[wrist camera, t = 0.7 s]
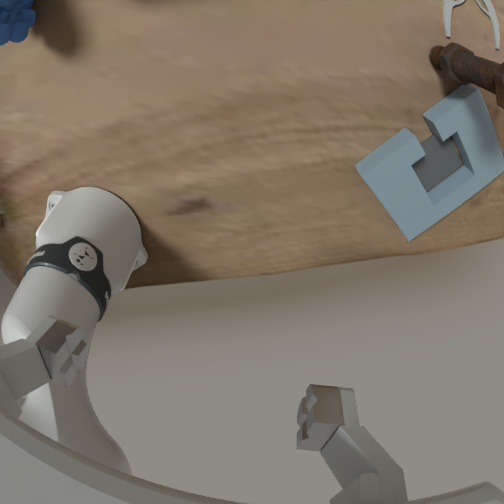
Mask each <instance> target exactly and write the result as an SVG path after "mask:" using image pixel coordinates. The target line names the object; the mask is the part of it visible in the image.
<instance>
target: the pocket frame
mask: <svg viewBox="0 0 504 504" xmlns="http://www.w3.org/2000/svg"><path fill="white" fill-rule="evenodd" d="M422 116H423V117H424V119H425V121H426V123H427V125H428V126H429V128H430V130H431V132H432V133H433V135H432V136H430V137H429V138H428V139H426V140H425V141H424V142H422V143H421V144H420V143H419V141H418V140H417V138H416V136H415V135H414V134H412V133H411V132H410V131H409V130H408V129H406V128H403V129H402V130H401V131H399V132H398V133H397V134H395V135H394V136H393V137H391V138H390V139H389V140H387V141H386V142H385V143H383V144H382V145H381V146H379V147H378V148H377V149H375V150H374V151H373V152H371V153H370V154H369V155H367V156H366V157H365V158H363V159H362V160H361V161H359V162H358V163H357V164H355V165H354V166H355V168H356V169H357V171H358V172H359V174H360V176H361V177H362V178H363V180H364V181H365V182H366V183H367V185H368V186H369V187H370V189H371V190H372V191H373V192H374V194H375V195H376V196H377V198H378V199H379V200H380V202H381V203H382V204H383V206H384V207H385V209H386V210H387V211H388V213H389V214H390V215H391V217H392V218H393V220H394V221H395V222H396V224H397V225H398V227H399V228H400V230H401V231H402V233H403V234H404V236H405V237H406V238H407V240H408V241H410V240H412V239H413V238H415V237H416V236H418V235H419V234H421V233H422V232H423V231H425V230H426V229H428V228H429V227H431V226H432V225H433V224H435V223H436V222H438V221H439V220H440V219H442V218H443V217H445V216H446V215H447V214H449V213H450V212H451V211H453V210H454V209H456V208H457V207H458V206H460V205H461V204H462V203H464V202H465V201H466V200H468V199H469V198H470V197H472V196H473V195H474V194H475V193H477V192H478V191H479V190H481V189H482V188H483V187H484V186H486V185H487V184H488V183H490V182H491V181H492V180H493V179H495V178H496V177H497V176H498V175H499V174H501V173H502V172H503V171H504V158H503V154H502V151H501V148H500V144H499V141H498V138H497V135H496V132H495V129H494V126H493V123H492V120H491V118H490V115H489V112H488V110H487V107H486V105H485V102H484V100H483V97H482V95H481V93H480V90H479V88H476V87H474V86H472V85H470V84H467V85H466V86H465V85H463V84H462V85H461V86H460V87H458V88H457V89H456V90H454V91H453V92H452V93H450V94H449V95H448V96H446V97H445V98H444V99H442V100H441V101H439V102H438V103H437V104H435V105H434V106H433V107H431V108H430V109H429V110H427V111H426V112H425V113H423V114H422ZM450 136H452V138H453V140H454V143H455V145H456V147H457V149H458V151H459V154H460V156H461V158H462V161H463V163H464V166H463V167H461V166H462V163H461V161H460V159H459V156H458V154H457V152H456V150H455V147H454V145H453V143H452V141H451V139H450ZM459 167H461V168H460V169H459V170H457V169H458V168H459ZM413 169H414V170H413ZM455 170H457V171H456V172H455V173H453V172H454V171H455ZM452 173H453V174H452ZM416 174H417V175H416ZM450 174H452V175H451V176H449V175H450ZM448 176H449V177H448ZM446 177H448V178H447V179H445V178H446ZM444 179H445V180H444ZM442 180H444V181H443V182H441V181H442ZM420 181H421V182H420ZM440 182H441V183H440ZM438 183H440V184H439V185H437V184H438ZM435 185H437V186H436V187H435V188H433V187H434V186H435ZM424 188H425V189H424ZM431 188H433V189H432V190H431V191H429V190H430V189H431ZM425 190H426V191H425ZM427 191H429V192H428V193H427Z"/></svg>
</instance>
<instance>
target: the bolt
mask: <svg viewBox="0 0 504 504" xmlns="http://www.w3.org/2000/svg"><path fill="white" fill-rule="evenodd" d="M431 52H432V54H431V53H430V54H429V58H430V59H431V61H432V63H433V65H434V66H435V67H436V68H437V69H439V70H441V71H442V72H443V75H444V76H446V77H448V78H450V79H452V80H454V81H456V82H458V83H460V84H463V85H465V86H466V85H467V84H469V83H472V84H475V85H477V86H479V87H481V88H483V89H485V90H487V91H490V92H491V93H494V94H495V95H496V98H497V105H498V106H500V107H501V108H503V109H504V62H503V63H502V64H499V63H495V62H493V61H490V60H487V59H484V58H481V57H478V56H475V55H474V53H473V52H472V51H470V50H469V49H467V48H465V47H463V46H461V45H459V44H457V43H452V42H451V43H450V44H448V45H447V46H446V47H443V46H434V47H433V48H432V49H431Z"/></svg>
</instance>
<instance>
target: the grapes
mask: <svg viewBox="0 0 504 504" xmlns="http://www.w3.org/2000/svg"><path fill="white" fill-rule="evenodd" d="M33 2H34V0H0V45H4V44H5V43H7V42H8V41H9V40H10V41H12V42H21V41H23V40H25V38H26V37H27V35H28V31H29V29H28V28H30V27H32V26H33V25H34V24H35V22H36V18H37V16H36V11H34V10H32V9H30V7H31V6H32V5H33Z"/></svg>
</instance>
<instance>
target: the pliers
mask: <svg viewBox="0 0 504 504" xmlns="http://www.w3.org/2000/svg"><path fill="white" fill-rule="evenodd" d="M464 1H465V0H459V1H454V0H444V1H443V23H444V29H445V34H446V36H447V37H450V29H451V15H452V8H453V6H455V5H458V4H461V3H462V2H464ZM475 2H476V3H477V5H478V6H479V7H480V9H481V10H482V11H483V12H484V13H485V14H487V15H488V17H489V18H490V21H491V25H492V29H493V35H494V42H495V48H496V49H499V43H500V33H499V25H498V20H497V16H496V13H495V10H494V8H493V5H492V3H491V1H490V0H482V2H483V4H484V5H485V7H486V9H487V11H486V10H485V9H484V8H483V7H482V6H481V4H480V3H479V1H478V0H475Z"/></svg>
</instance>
